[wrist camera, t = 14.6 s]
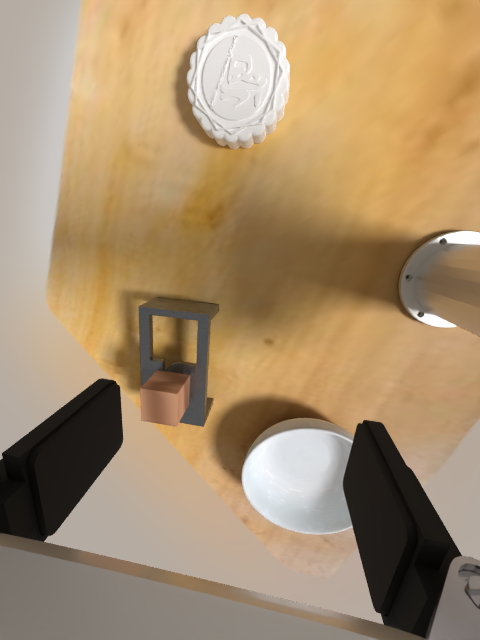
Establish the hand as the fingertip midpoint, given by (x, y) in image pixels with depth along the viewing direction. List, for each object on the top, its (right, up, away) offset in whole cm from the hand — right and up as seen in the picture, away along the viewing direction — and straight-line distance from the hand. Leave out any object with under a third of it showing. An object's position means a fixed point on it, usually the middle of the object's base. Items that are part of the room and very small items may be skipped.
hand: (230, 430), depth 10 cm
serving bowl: (+12, -19, +36) cm, 43 cm away
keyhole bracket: (-9, -1, +34) cm, 35 cm away
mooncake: (0, +32, +23) cm, 40 cm away
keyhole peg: (-9, -5, +32) cm, 34 cm away
